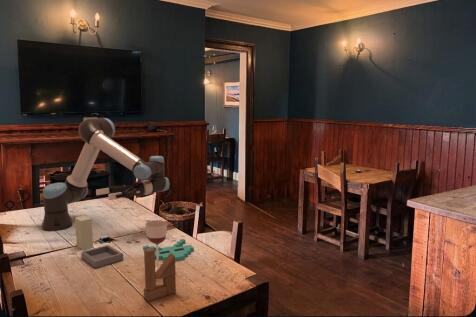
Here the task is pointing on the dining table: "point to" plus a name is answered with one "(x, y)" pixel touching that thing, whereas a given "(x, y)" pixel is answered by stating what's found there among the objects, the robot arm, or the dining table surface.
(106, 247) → the grey tray
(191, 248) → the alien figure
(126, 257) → the dining table surface
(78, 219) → the tan rectangular block
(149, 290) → the wooden braced frame
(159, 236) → the wineglass
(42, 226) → the robot arm
